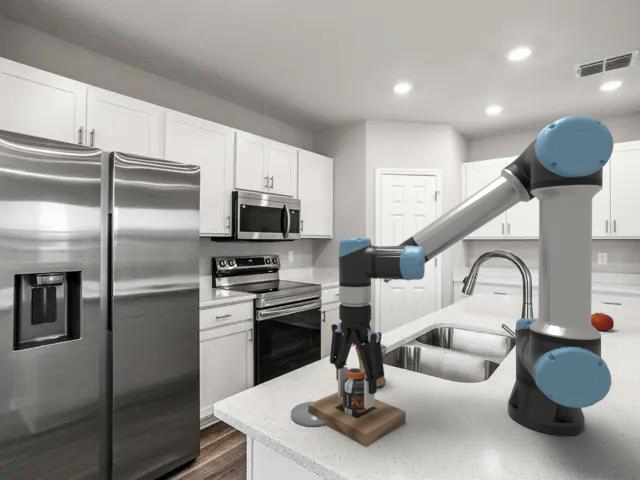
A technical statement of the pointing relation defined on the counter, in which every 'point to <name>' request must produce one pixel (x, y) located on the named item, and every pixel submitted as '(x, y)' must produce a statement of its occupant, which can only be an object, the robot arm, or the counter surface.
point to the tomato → (602, 321)
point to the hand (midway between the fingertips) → (355, 400)
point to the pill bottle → (354, 393)
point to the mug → (379, 381)
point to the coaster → (306, 416)
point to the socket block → (358, 419)
